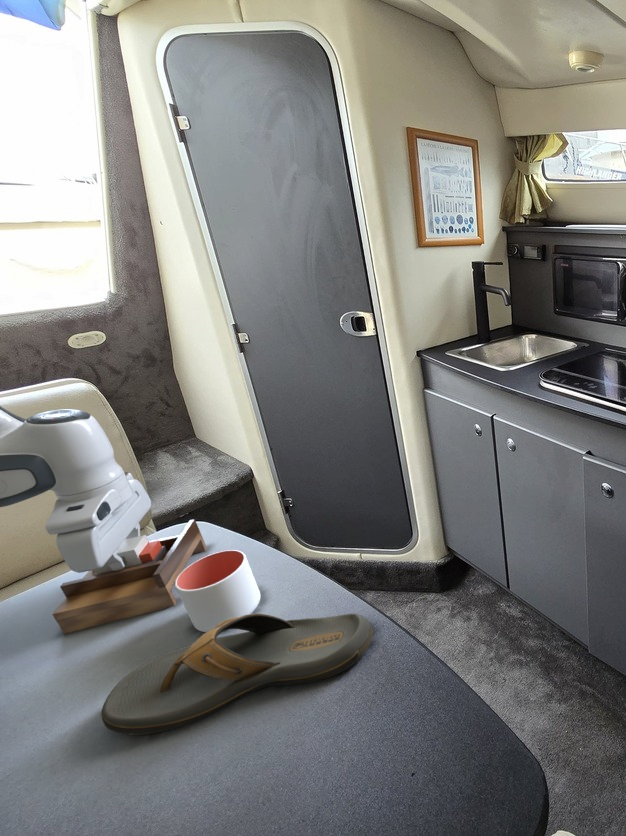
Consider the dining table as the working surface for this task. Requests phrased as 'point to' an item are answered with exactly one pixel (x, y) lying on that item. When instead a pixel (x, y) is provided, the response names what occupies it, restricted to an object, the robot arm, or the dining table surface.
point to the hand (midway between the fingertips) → (128, 557)
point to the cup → (218, 589)
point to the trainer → (136, 553)
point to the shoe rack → (128, 586)
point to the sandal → (233, 669)
